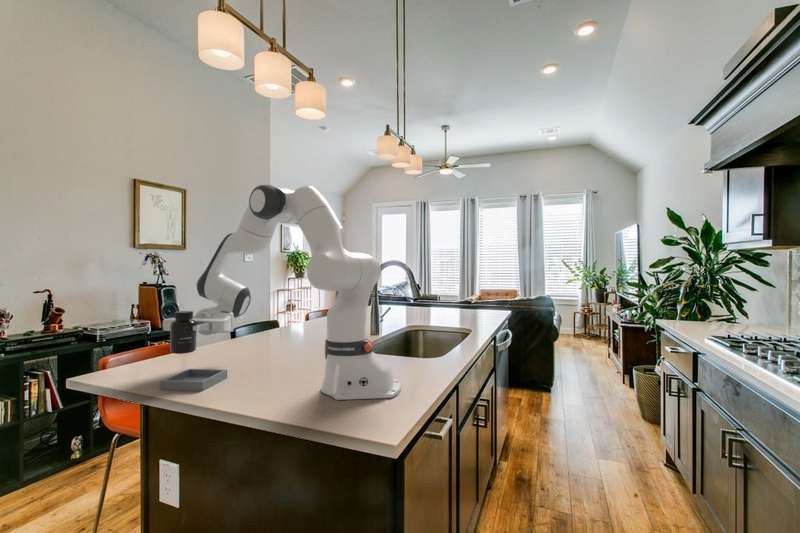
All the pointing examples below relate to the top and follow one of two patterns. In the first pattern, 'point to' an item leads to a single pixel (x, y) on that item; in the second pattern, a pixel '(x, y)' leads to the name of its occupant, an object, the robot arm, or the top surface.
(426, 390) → the top surface
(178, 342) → the supplement bottle
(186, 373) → the tray
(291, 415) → the top surface
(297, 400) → the top surface
